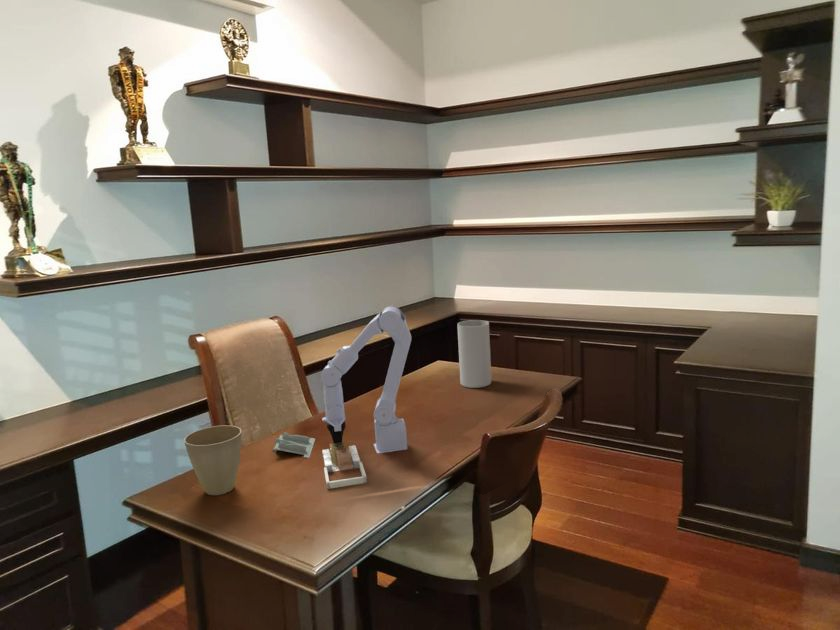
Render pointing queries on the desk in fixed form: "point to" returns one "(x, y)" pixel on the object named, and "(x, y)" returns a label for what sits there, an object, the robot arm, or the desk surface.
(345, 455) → the copper cube
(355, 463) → the aluminium channel
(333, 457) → the brass cube
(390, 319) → the robot arm
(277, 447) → the metal bracket
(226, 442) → the plant pot
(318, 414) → the desk surface
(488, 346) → the cylinder vase
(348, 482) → the tray
